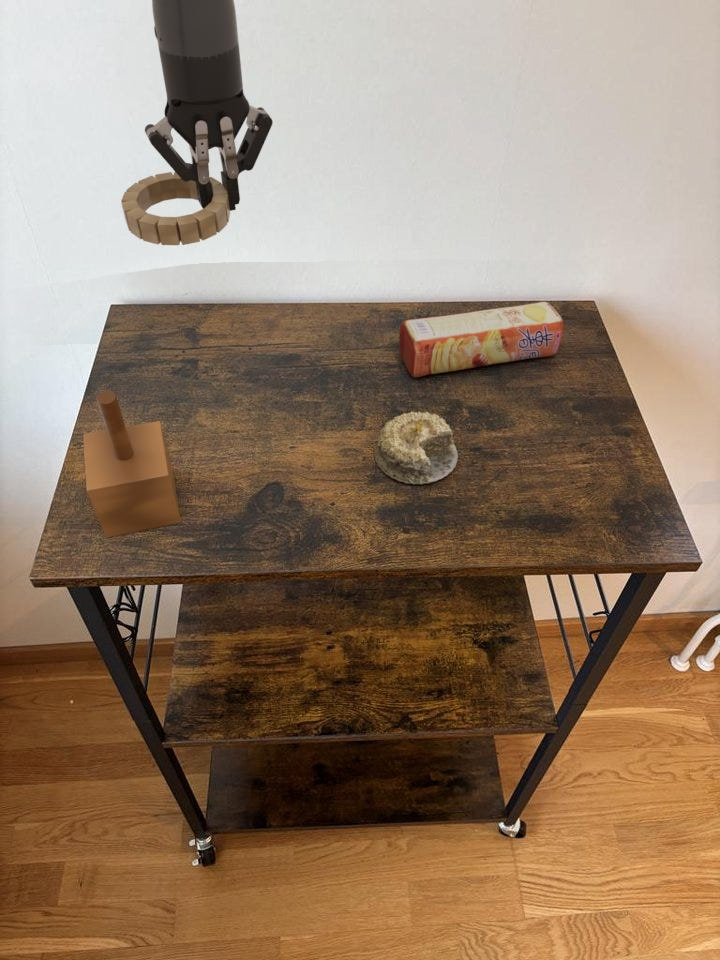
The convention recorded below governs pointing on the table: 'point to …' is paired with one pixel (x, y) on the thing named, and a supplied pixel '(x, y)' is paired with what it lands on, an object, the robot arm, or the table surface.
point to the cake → (416, 448)
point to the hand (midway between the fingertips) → (220, 208)
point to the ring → (173, 227)
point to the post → (129, 473)
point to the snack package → (479, 338)
